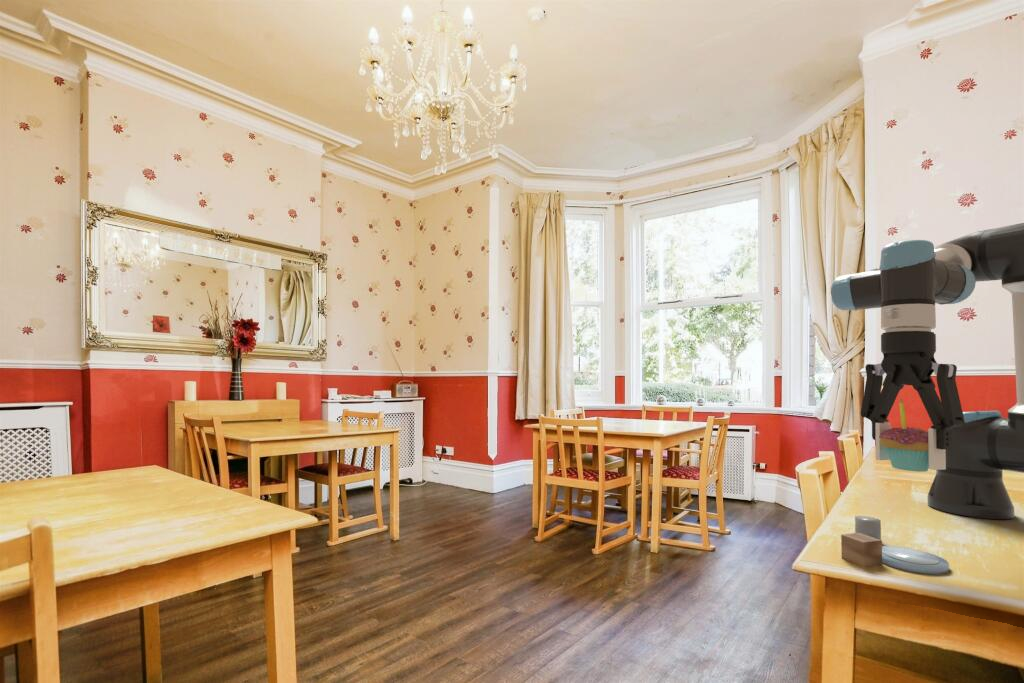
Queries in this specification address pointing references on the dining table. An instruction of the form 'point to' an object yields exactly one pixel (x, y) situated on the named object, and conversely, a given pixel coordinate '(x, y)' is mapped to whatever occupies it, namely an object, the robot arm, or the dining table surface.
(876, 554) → the walnut block
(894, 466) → the cupcake
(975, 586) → the dining table surface
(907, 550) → the saucer
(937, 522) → the dining table surface
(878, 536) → the grey cylinder
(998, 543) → the dining table surface
